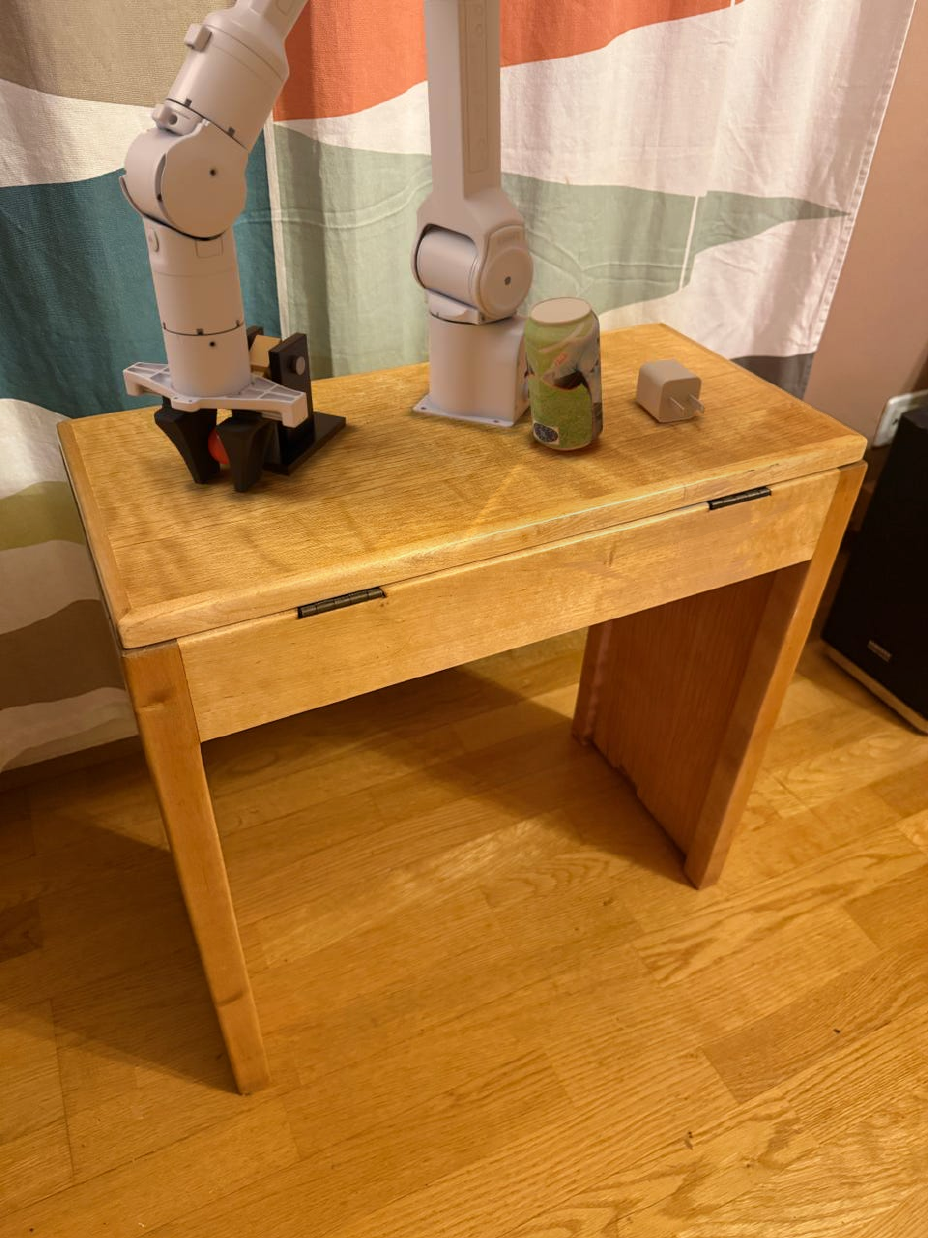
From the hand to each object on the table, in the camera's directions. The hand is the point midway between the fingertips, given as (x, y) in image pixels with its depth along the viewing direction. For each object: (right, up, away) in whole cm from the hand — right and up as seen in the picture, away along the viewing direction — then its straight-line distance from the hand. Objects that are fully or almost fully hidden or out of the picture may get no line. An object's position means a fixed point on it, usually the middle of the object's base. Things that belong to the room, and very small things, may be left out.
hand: (229, 491), depth 73 cm
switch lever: (+2, +6, +1) cm, 7 cm away
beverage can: (+27, +5, +7) cm, 28 cm away
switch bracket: (+3, +5, +5) cm, 8 cm away
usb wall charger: (+38, +8, +11) cm, 40 cm away
